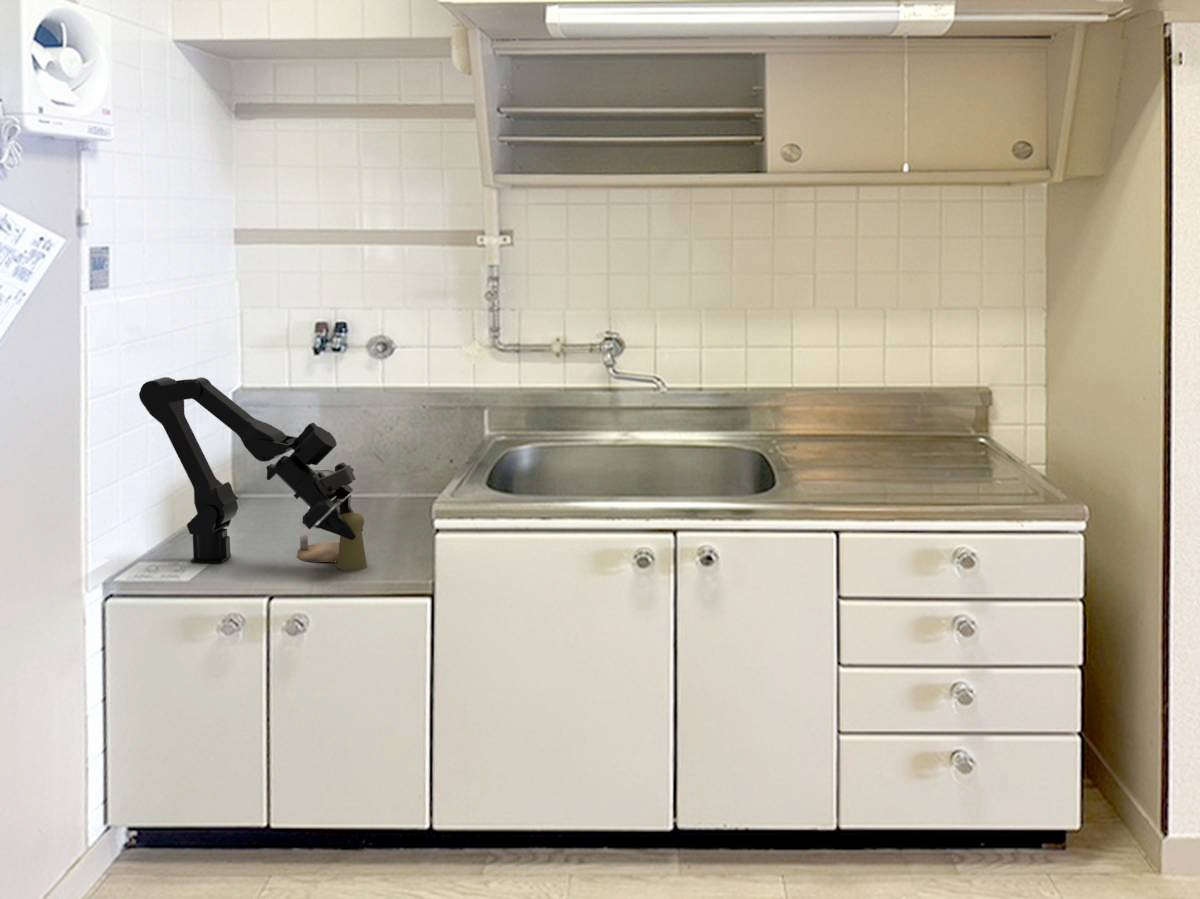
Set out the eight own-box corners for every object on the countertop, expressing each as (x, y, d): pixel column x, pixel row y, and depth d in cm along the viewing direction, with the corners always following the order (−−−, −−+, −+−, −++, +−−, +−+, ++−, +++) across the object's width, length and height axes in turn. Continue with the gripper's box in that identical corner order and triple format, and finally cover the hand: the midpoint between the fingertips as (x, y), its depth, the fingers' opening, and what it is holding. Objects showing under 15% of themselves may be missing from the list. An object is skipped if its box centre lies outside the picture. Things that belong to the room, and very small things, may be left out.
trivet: (289, 561, 293) (289, 542, 292) (307, 546, 305) (307, 528, 305) (352, 563, 292) (351, 544, 291) (367, 548, 304) (367, 529, 304)
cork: (353, 561, 294) (352, 508, 292) (373, 566, 290) (372, 513, 288) (330, 566, 289) (329, 513, 287) (350, 572, 285) (349, 518, 283)
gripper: (317, 461, 277) (374, 518, 278) (341, 444, 295) (395, 498, 296) (278, 500, 279) (335, 556, 280) (305, 481, 297) (359, 534, 298)
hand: (357, 535), depth 288 cm, fingers open, 5 cm apart
